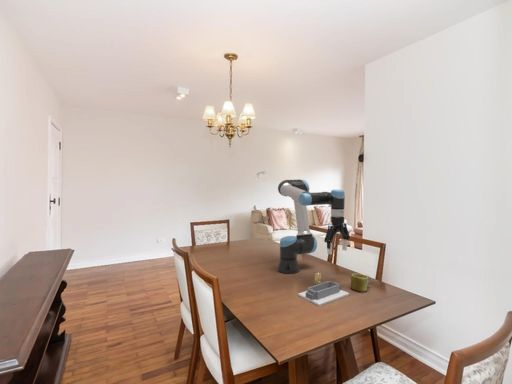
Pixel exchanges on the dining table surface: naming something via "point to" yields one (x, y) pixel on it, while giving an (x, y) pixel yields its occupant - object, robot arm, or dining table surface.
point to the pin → (317, 278)
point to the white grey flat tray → (323, 293)
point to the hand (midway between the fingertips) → (337, 252)
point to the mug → (359, 282)
